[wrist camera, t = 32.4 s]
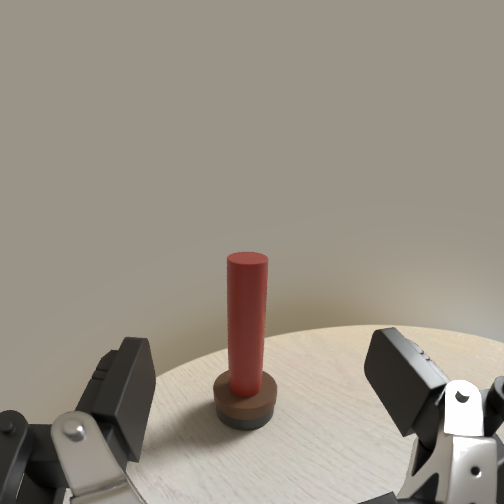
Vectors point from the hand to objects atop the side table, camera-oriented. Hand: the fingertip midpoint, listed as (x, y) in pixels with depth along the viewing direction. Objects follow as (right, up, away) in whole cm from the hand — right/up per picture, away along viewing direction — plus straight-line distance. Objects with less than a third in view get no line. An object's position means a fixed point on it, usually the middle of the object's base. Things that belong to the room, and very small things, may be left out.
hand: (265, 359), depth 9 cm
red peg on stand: (-1, -10, +13) cm, 16 cm away
